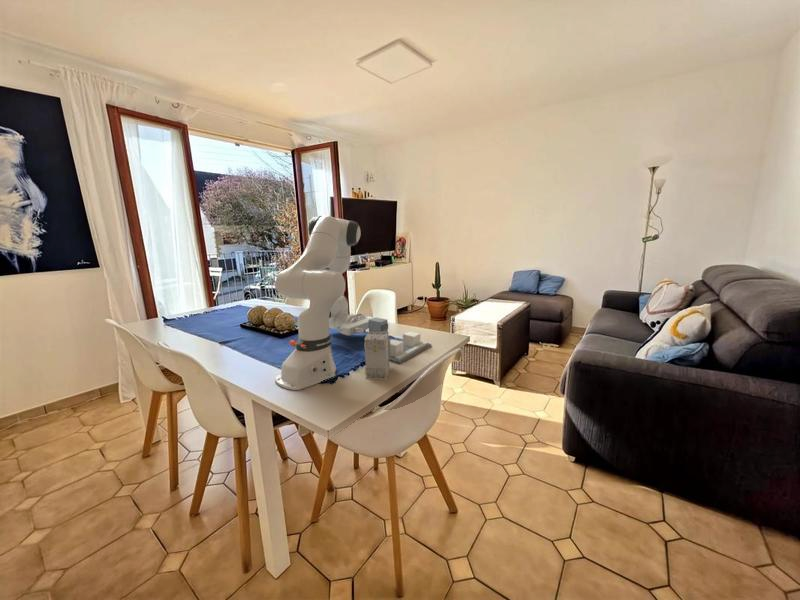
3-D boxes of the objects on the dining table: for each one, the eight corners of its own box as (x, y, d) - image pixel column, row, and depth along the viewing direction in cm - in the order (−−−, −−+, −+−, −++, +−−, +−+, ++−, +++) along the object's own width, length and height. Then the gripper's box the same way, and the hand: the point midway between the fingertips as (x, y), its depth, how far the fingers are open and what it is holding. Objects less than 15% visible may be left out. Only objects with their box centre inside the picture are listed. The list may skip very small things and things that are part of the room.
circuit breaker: (391, 363, 132) (390, 327, 128) (386, 379, 118) (385, 339, 114) (372, 362, 132) (371, 326, 129) (365, 378, 119) (364, 339, 115)
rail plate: (399, 364, 130) (399, 349, 129) (373, 356, 139) (372, 342, 137) (431, 346, 149) (431, 333, 148) (406, 340, 157) (406, 328, 156)
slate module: (382, 348, 148) (381, 322, 145) (369, 344, 152) (368, 319, 149) (388, 344, 152) (388, 319, 149) (376, 341, 156) (375, 317, 153)
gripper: (333, 322, 152) (355, 327, 144) (363, 313, 168) (384, 317, 160) (334, 335, 153) (356, 341, 145) (364, 324, 169) (385, 329, 161)
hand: (371, 328), depth 153 cm, fingers open, 8 cm apart
